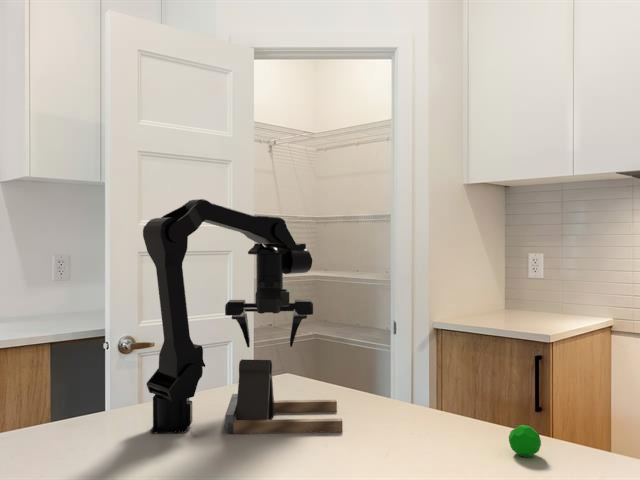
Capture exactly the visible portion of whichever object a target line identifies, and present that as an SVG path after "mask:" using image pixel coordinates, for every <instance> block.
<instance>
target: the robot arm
mask: <svg viewBox="0 0 640 480" xmlns="http://www.w3.org/2000/svg"><path fill="white" fill-rule="evenodd" d="M203 223H206V224H209V225H213V226H216V227H220V228H223V229H227V230H231V231H234V232H239V233H240V234H243V235H244V236H245V237H246V238H247V239H249V240H251V241H253V242H255V244H254V245H253V246H252V247H251V248H250V249H249V250H248V251H247V255H253V256H254V255H255V256H256V261H255V262H256V290H255V302H252V303H251V302H250V303H248V302H246V299H229V300H228V301H227V302H226V303H225V306H224V311H225V312H224V313H225V314H224V316H231V320H236V322H237V323H238V325H239V327H240V330H241V332H242V334H243V338H244V340H245V344H246V347H247V348H250V345H251V344H250V343H251V342H250V341H251V339H250V331H249V330H250V329H249V322H248V321H249V320H248V312H251V313H252V312H257V313H258V314H266V313H267V314H268V313H269V314H271V313H272V314H279V313H281V312H293V314H292V319H291V320H292V321H291V329H290V337H289V347H290V348H292V347H293V344H294V342H295V341H294V340H295V338H296V335H297V332H298V329H299V326H300V325H301V322H302V321H303V320H305V319H307V318H308V315H309V316H310V315H313V316H314V303H313V301H312V299H309V298H307V299H304V298H303V299H301V298H299V299H297V298H296V299H294V302H290V289H288V288H284V275H289V274H290V275H292V274H293V275H294V274H304V273H308V272H309V271H310V270H311V268H312V265H313V257H312V254H311V252H310V251H309V250H308V249H307V244H306V243H300V242H299V243H296V241H295V239H294V238H293V236H292V234H291V233H290V230H289V229H288V227H287V224H286V220H284V219H283V218H282V217H277V216H267V215H265V216H263V215H253V214H249V213H246V212H242V211H240V210H236V209H233V208H231V207H230V208H229V207H226V206H224V205H220V204H217V203H213V202H211V201H208V200H207V199H204V198H198V199H197V198H196V199H191V200H188V201H187V202H186V203H184V204H183V205H181V206H180V207H178V208H176V209H174V210H172V211H170V212H168V213H166V214H164V215H162V217H156V218H152V219H150V220H149V221H148V222H147V223H145V225H144V226H143V228H142V229H143V230H142V237H143V241H144V244H145V248H146V251H147V253H148V255H149V258H150V259H151V261H152V262H153V264H154V267H155V270H156V280H157V289H158V296H159V305H160V306H159V307H160V314H161V322H162V332H163V343H162V346H161V348H160V351H159V354H158V368H157V369H156V370H155V372H153V374H152V376H151V377H150V378H149V379H148V381H147V382H146V384H145V385H146V388H147V390H148V392H149V393H150V394H153V397H152V427H151V428H150V433H151V434H158V433H159V434H161V433H162V434H166V433H167V434H168V433H170V434H171V433H186V432H187V431H188V430H189V427H190V426H191V425H192V423H193V401H192V400H190V399H191V398H194V397H195V394H196V391H197V387H198V384H199V381H200V379H201V378H202V377H203V374H204V373H203V372H204V371H203V368H206V364H205V362H204V349H203V345H200V344H195V343H193V340H192V339H191V334H190V324H189V316H188V308H187V299H186V298H187V297H186V289H185V279H184V278H185V277H184V270H183V262H184V259H185V257H186V254H187V251H188V241H189V236H190V235H193V233H195V232H196V231H198V229H199V228H200V226H201V225H202V224H203ZM283 274H284V275H283Z"/></svg>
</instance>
